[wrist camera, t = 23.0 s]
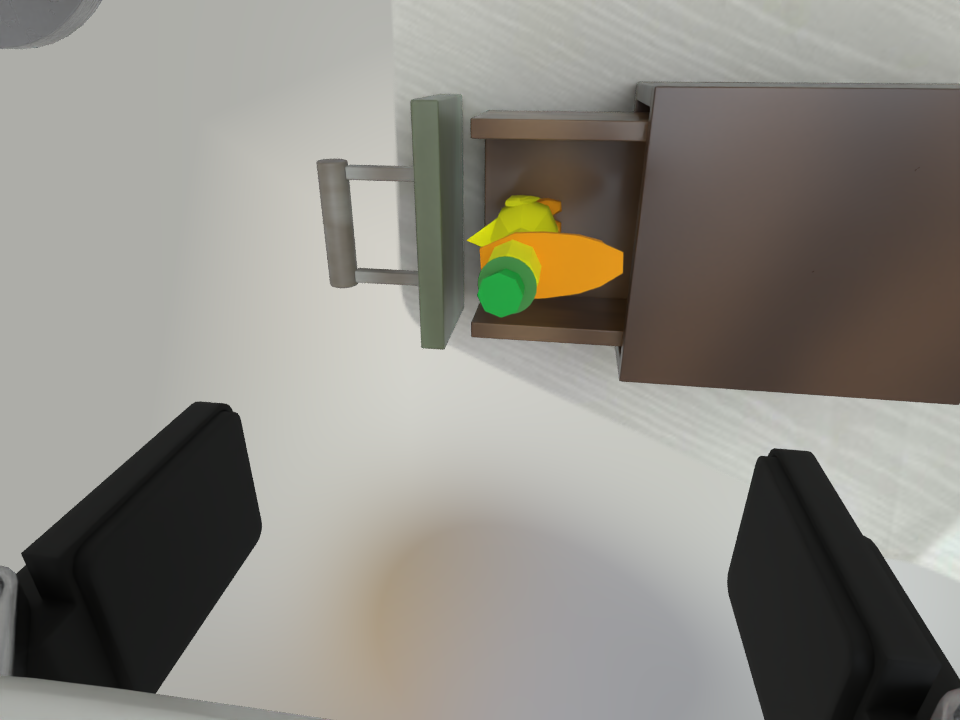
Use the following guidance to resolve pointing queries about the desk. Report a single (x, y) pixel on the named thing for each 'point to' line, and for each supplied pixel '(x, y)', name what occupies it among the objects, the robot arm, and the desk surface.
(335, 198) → the drawer
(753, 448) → the desk surface
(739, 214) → the cabinet
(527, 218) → the toy figure
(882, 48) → the desk surface
